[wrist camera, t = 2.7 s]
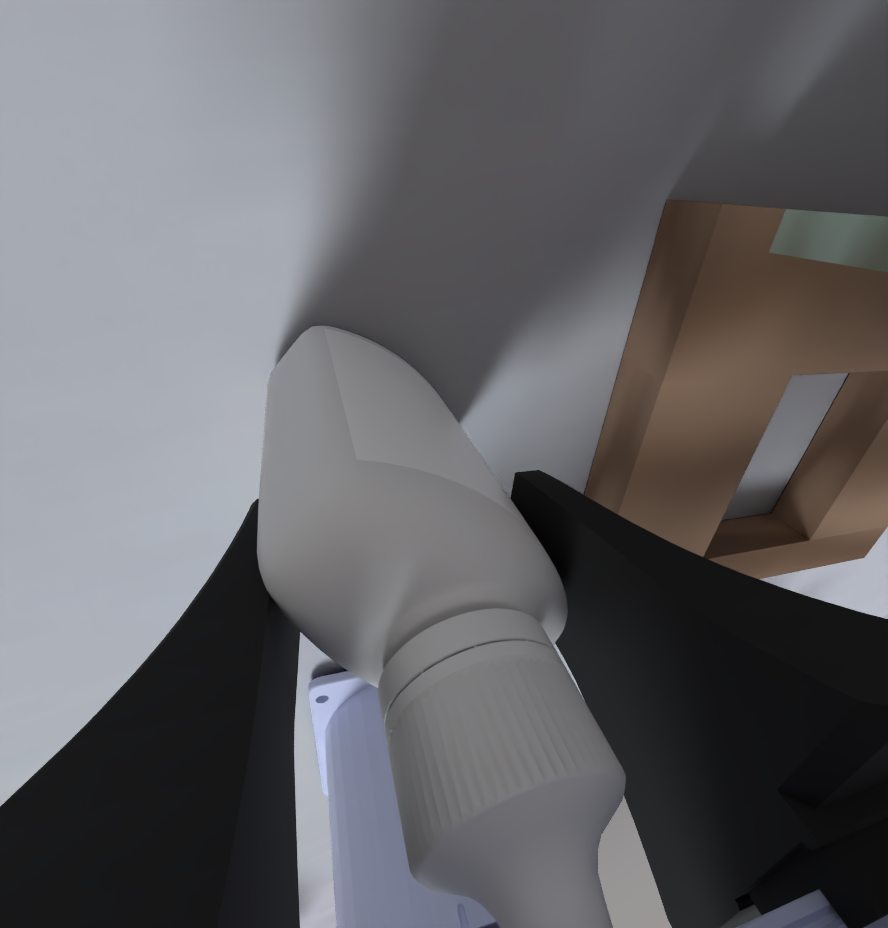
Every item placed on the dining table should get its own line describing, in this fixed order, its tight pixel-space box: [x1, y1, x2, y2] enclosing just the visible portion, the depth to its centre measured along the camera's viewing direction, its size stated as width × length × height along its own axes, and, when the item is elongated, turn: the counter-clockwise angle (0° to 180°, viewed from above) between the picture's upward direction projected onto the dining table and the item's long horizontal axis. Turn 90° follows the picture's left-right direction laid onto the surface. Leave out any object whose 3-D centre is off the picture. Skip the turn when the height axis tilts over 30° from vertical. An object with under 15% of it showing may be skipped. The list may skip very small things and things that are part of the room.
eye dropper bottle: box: [257, 325, 626, 928], centre depth 8 cm, size 4×6×12 cm
